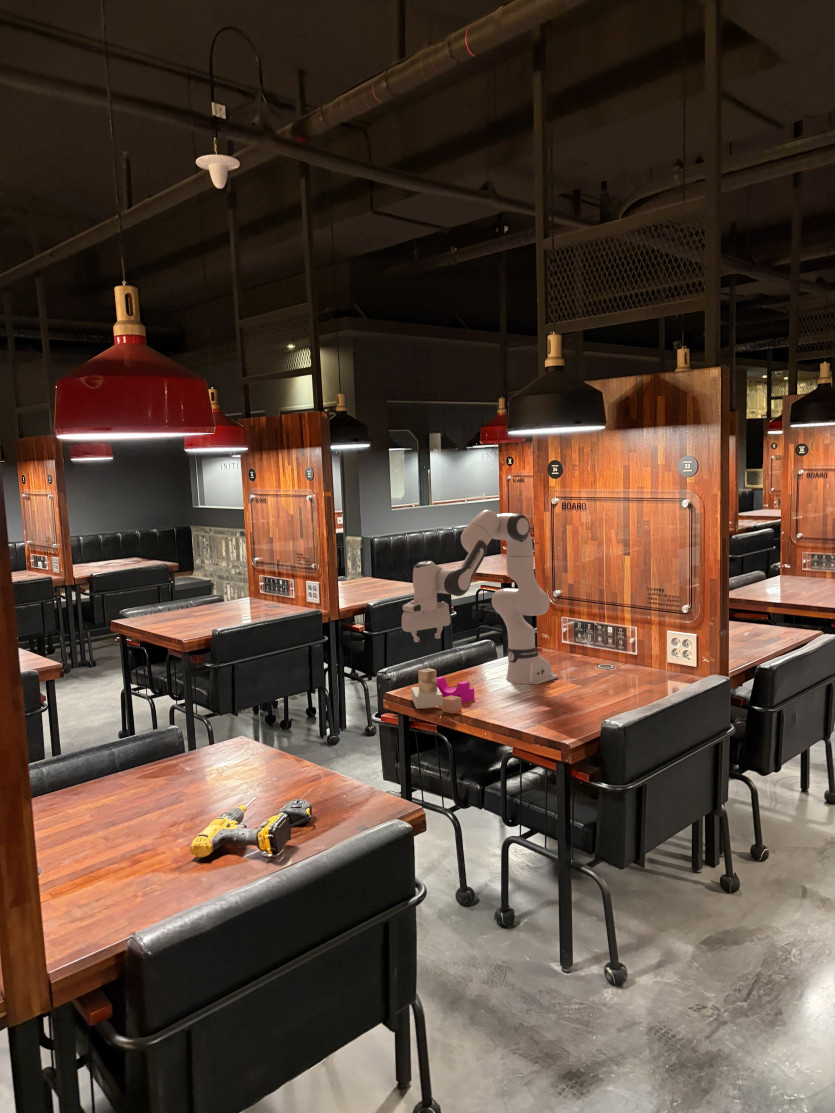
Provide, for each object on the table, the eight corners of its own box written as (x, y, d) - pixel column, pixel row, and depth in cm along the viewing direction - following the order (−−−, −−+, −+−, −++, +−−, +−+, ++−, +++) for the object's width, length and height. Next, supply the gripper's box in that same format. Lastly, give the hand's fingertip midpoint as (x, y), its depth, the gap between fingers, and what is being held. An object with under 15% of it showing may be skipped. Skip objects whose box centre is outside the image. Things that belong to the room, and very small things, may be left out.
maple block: (429, 688, 310) (428, 668, 309) (437, 690, 305) (436, 670, 305) (419, 690, 307) (418, 670, 306) (426, 693, 303) (425, 672, 302)
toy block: (474, 699, 309) (473, 680, 308) (463, 703, 304) (462, 684, 304) (446, 693, 319) (445, 675, 319) (435, 697, 315) (434, 678, 314)
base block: (437, 698, 314) (436, 685, 314) (442, 707, 300) (442, 694, 300) (411, 699, 313) (411, 687, 312) (416, 709, 299) (415, 696, 299)
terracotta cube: (451, 708, 298) (451, 695, 297) (461, 710, 294) (461, 697, 294) (442, 711, 294) (442, 698, 294) (452, 713, 291) (452, 700, 290)
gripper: (443, 600, 311) (445, 635, 313) (398, 606, 301) (400, 642, 302) (452, 601, 306) (454, 637, 307) (407, 608, 295) (409, 645, 297)
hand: (427, 640), depth 305 cm, fingers open, 8 cm apart
